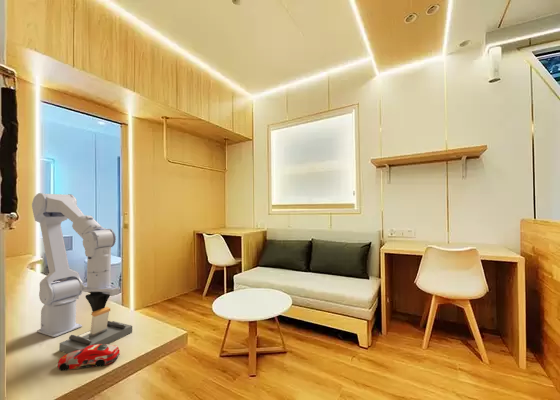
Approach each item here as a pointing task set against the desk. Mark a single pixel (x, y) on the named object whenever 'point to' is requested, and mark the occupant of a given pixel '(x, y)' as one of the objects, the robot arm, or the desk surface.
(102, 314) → the lever
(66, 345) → the strip
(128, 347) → the desk surface
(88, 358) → the race car
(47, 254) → the robot arm
